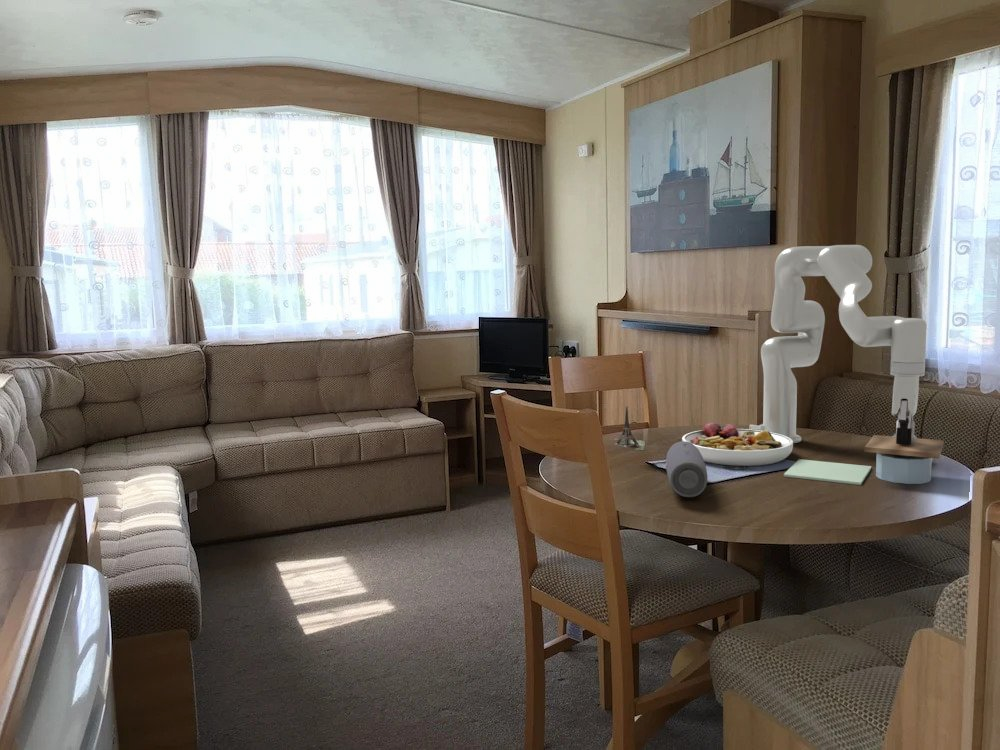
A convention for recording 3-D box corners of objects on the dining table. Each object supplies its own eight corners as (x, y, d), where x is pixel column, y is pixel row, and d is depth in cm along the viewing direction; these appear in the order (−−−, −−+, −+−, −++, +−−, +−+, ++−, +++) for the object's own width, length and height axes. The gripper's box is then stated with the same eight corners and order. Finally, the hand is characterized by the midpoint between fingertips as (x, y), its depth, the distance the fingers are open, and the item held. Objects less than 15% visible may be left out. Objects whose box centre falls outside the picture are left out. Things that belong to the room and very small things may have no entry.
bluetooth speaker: (664, 476, 205) (664, 438, 204) (701, 477, 204) (702, 439, 202) (667, 502, 183) (667, 459, 182) (709, 503, 181) (709, 460, 180)
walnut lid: (864, 451, 195) (865, 424, 194) (873, 439, 208) (874, 413, 208) (939, 458, 187) (940, 429, 186) (943, 445, 200) (944, 418, 199)
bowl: (816, 461, 218) (817, 433, 217) (725, 474, 207) (726, 444, 206) (745, 440, 246) (745, 415, 245) (661, 451, 235) (661, 424, 234)
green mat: (783, 476, 202) (783, 474, 202) (799, 461, 217) (799, 459, 217) (860, 485, 193) (860, 482, 193) (871, 468, 208) (871, 466, 208)
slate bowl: (873, 480, 197) (874, 456, 196) (879, 469, 207) (880, 446, 206) (928, 486, 190) (929, 461, 189) (932, 474, 200) (933, 451, 200)
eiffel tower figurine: (644, 452, 235) (644, 407, 234) (609, 451, 237) (609, 406, 236) (646, 441, 250) (646, 399, 248) (613, 440, 252) (613, 398, 250)
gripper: (894, 364, 204) (891, 435, 206) (886, 372, 190) (883, 447, 192) (927, 365, 200) (924, 437, 202) (921, 373, 186) (918, 450, 188)
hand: (904, 441), depth 197 cm, fingers closed on walnut lid, 4 cm apart
